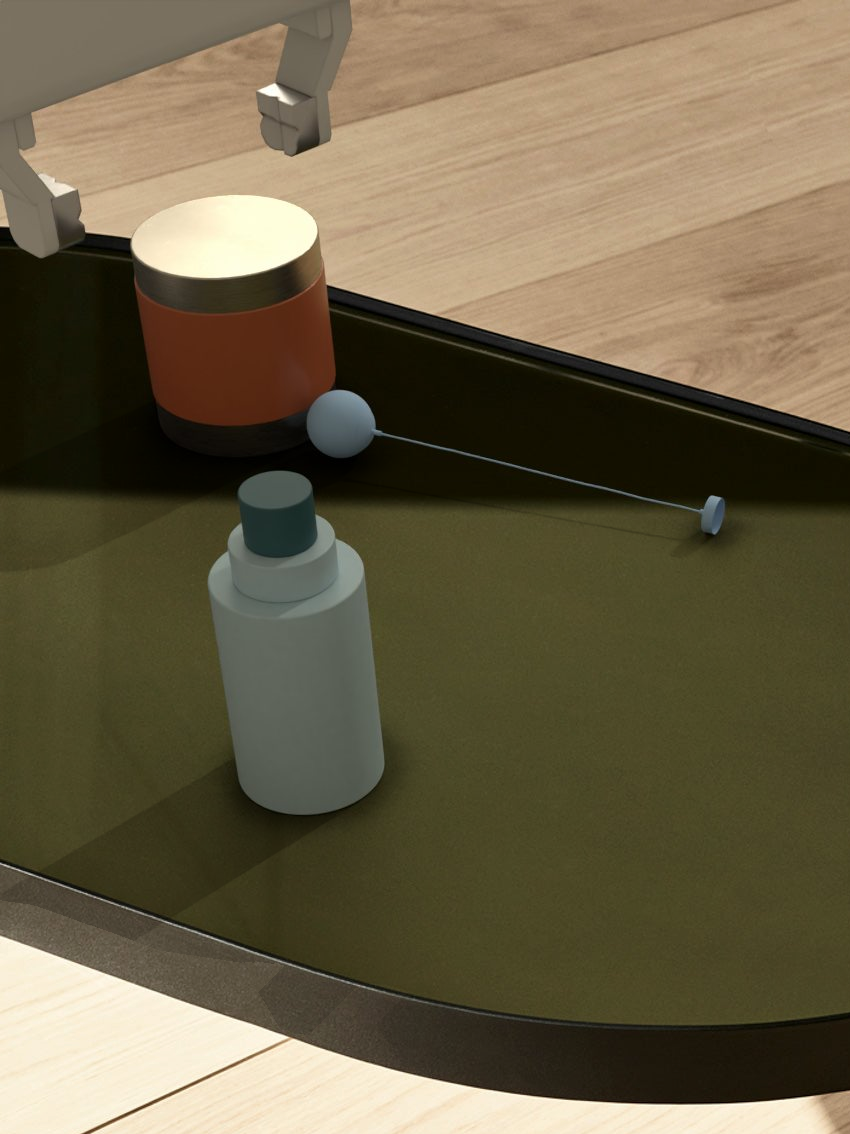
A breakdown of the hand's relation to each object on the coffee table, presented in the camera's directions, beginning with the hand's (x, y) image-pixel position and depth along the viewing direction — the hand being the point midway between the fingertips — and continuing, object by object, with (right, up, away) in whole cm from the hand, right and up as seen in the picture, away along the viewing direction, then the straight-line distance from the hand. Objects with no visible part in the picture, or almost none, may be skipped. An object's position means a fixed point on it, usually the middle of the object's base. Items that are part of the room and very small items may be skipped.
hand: (178, 193), depth 71 cm
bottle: (+1, -17, +18) cm, 25 cm away
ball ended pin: (+8, -4, +34) cm, 35 cm away
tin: (-4, +1, +39) cm, 39 cm away
